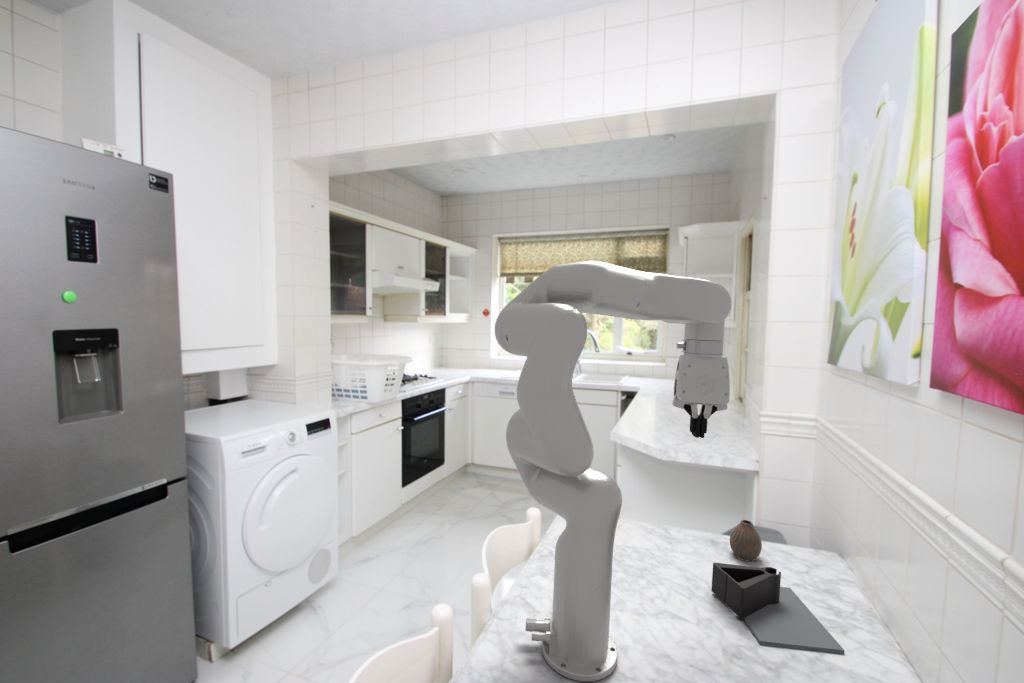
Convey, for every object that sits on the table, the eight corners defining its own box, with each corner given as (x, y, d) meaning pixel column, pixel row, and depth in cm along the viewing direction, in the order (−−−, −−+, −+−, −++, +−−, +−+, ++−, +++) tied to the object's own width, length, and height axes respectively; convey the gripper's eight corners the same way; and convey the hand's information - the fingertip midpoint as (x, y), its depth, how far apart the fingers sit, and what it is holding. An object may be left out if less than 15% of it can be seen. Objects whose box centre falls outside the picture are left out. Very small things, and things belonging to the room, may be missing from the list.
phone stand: (740, 619, 83) (794, 613, 85) (742, 588, 82) (796, 583, 85) (710, 590, 92) (760, 585, 94) (712, 562, 91) (761, 558, 94)
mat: (759, 644, 77) (759, 641, 77) (721, 583, 95) (721, 581, 95) (844, 653, 76) (844, 650, 76) (789, 590, 93) (789, 587, 93)
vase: (765, 566, 103) (767, 530, 102) (733, 562, 104) (735, 526, 104) (755, 551, 110) (757, 517, 109) (725, 547, 111) (727, 514, 110)
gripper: (670, 348, 88) (665, 438, 88) (748, 351, 86) (742, 443, 87) (661, 346, 95) (657, 429, 96) (733, 349, 93) (728, 434, 94)
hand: (697, 436), depth 91 cm, fingers closed
